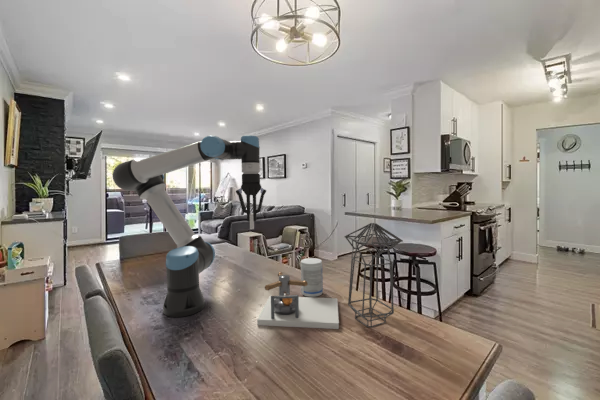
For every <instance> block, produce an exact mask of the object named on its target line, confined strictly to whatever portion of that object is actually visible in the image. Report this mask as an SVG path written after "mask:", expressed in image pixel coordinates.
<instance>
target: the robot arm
mask: <svg viewBox="0 0 600 400" xmlns="http://www.w3.org/2000/svg"><path fill="white" fill-rule="evenodd" d="M210 160H220V161H224V160H241V173H242V174H241V185H240V188H238V189H236V190H235V193H236V194H237V197H238V200H239V203H240V207H241V211H242V213H245V214H246V217H247V218H246V219H247V220H246V221H247V222H249V230H255V222H256V221H257V220H258V219H257V214H259V213H261V210H262V206H263V201H264V196H265V194H266V193H267V189H264V188H263V187H262V184H261V175H260V172H261V167H260V166H261V163H260V162H261V161H260V140H259V137H258V136H256V135H249V134H247V135H242V136H241V137H240V140H237V141H236V140H233V141H232V140H230V141H229V140H227V139H223V138H221V137H219V136H217V135H207V136H205V137H203V138H202V140H200V141H197V142H193V143H191V144H187V145H185V146H184V145H183V146H181V147H178V148H175V149H172V150H169V151H165V152H162V153H159V154H155V155H153V156H149V157H147V158H143V159H138V158H133V159H131V160H128V161H124V162H121V163H120V164H117V166H116V167H115V168H114V169H113V171H112V180H113V182H114V184H115V185H116V186H117V187H118V188H119V189H121V190H123V191H127V192H136V194H137V196H138V197H139V199H140V200H144V201H146V202H147V203H148V205H149V206H150V208H151V210H152V211H153V212H154V213H155V215H156V217H157V218H158V219H159V221H160V222H161V224H162V226H163V227H164V228H165V230H166V231H167V233H168V234H169V236H170V237H171V238H172V240H173V242H174V243H175V245H176V248H173V249H171V250H170V251H168V252H167V254H166V255H165V268H166V269H165V272H166V287H167V288H166V289H167V293H166V295H165V298H164V302H163V305H162V313H163V315H164V316H166V317H169V318H170V317H171V318H183V317H188V316H192V315H194V314H196V313H197V314H198V313H199V312H201V311H202V310H203V309H204V308H205V306H206V305H205V298H204V295H203V293H202V292H203V291H202V290H201V288H200V287H201V286H200V274H201V273H202V272H204V271H205V270H207V269H209V267H211V265H212V264H213V262H214V261H215V258H216V250H215V247H214V246H213V245H212V244H211V243H210V242H208V241H205V240H204V239H203V237H202V236H201V235H200V234H199V235H198V234H195V232H194V230H193V229H192V228H191V226H190V225H189V223H188V221H187V220H186V218H185V217H184V216H183V214H182V213H181V211H180V210H179V209H178V207H177V205H176V204H175V203H174V201H173V199H172V198H171V196H170V195H169V193H168V192H167V191H166V187H167V184H166V183H165V174H169V173H172V172H175V171H177V170H181V169H184V168H186V167H191V166H194V165H196V164H199V163H203V162H206V161H210ZM259 192H260V197H259V202H258V206H257V195H258V193H259ZM243 193H244V194H245V197H246V205H245V200H244V197H243ZM251 196H252V213H251Z"/></svg>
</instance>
